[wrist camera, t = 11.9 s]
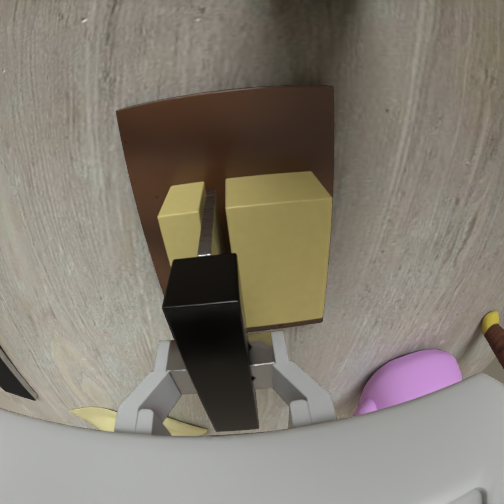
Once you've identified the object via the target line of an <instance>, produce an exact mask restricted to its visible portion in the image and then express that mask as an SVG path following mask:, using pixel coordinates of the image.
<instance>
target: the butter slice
mask: <svg viewBox="0 0 504 504" xmlns="http://www.w3.org/2000/svg"><path fill="white" fill-rule="evenodd" d="M205 197H206V189H205V183H204V182H196V183H188V184H181V185H174V186H171V187H170V189H169V192H168V194H167V196H166V198H165V201H164V203H163V205H162V207H161V210H160V212H159V214H158V217H157V218H158V222H159V226H160V230H161V233H162V237H163V241H164V245H165V248H166V252H167V256H168V259H169V263H170V266H171V265H172V261H173V260H174V259H180V258H190V257H197V253H198V245H199V238H200V231H201V224H202V217H203V210H204V204H205Z"/></svg>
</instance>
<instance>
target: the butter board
mask: <svg viewBox="0 0 504 504" xmlns="http://www.w3.org/2000/svg"><path fill="white" fill-rule="evenodd" d="M116 115H117V121H118V126H119V131H120V136H121V141H122V146H123V151H124V155H125V160H126V164H127V169H128V173H129V177H130V182H131V186H132V190H133V194H134V198H135V201H136V205H137V209H138V213H139V216H140V220H141V224H142V227H143V231H144V234H145V238H146V241H147V244H148V248H149V251H150V254H151V257H152V261H153V264H154V267H155V270H156V273H157V276H158V279H159V282H160V285H161V288H162V291H163V294H164V296H165V292H166V287H167V283H168V278H169V274H170V269H171V266H170V263H169V259H168V256H167V252H166V248H165V245H164V241H163V237H162V233H161V230H160V226H159V222H158V218H157V217H158V214H159V212H160V210H161V207H162V205H163V203H164V201H165V198H166V196H167V194H168V192H169V189H170V187H171V186H174V185H181V184H188V183H196V182H204V183H205V189H206V191H207V190H208V189H216V191H217V198H218V205H219V213H220V220H221V227H222V233H223V240H224V247H225V254H227V253H231V247H230V240H229V233H228V225H227V218H226V211H225V180H226V179H227V178H236V177H246V176H256V175H267V174H278V173H291V172H306V171H311V172H312V173H313V174H314V175H315V177H316V178H317V179H318V180H319V182H320V183H321V184H322V185H323V187H324V188H325V189H326V191H327V192H328V193H329V194H330V196H331V197H332V205H333V180H334V87H333V86H327V85H283V86H263V87H249V88H237V89H227V90H219V91H211V92H203V93H196V94H190V95H184V96H178V97H172V98H167V99H161V100H157V101H152V102H147V103H142V104H138V105H134V106H130V107H126V108H123V109H120V110H117V111H116ZM331 223H332V218H331ZM330 239H331V234H330ZM329 252H330V248H329ZM328 264H329V261H328ZM327 275H328V272H327ZM326 286H327V283H326ZM325 295H326V293H325ZM324 304H325V302H324ZM323 313H324V311H323ZM322 321H323V317H322V318H318V319H312V320H305V321H297V322H290V323H282V324H274V325H266V326H257V327H248V328H247V332H253V331H262V330H270V329H278V328H286V327H294V326H301V325H308V324H315V323H321V322H322Z"/></svg>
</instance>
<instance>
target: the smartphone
mask: <svg viewBox="0 0 504 504" xmlns="http://www.w3.org/2000/svg"><path fill="white" fill-rule="evenodd" d="M0 387H1V388H2V389H3V390H4V391H6V392H9V393H12V394H15V395H18V396H21V397H24V398H28V399H31V400H34V401H36V399H37V394H36V393H35V392H34V391H33V389H32V388H31V387H30V386H29V385H28V384H27V382H26V381H25V380H24V379H23V378H22V376H21V375H20V374H19V373H18V371H17V370H16V369H15V367H14V366H13V365H12V363H11V362H10V361H9V359H8V358H7V357H6V355H5V354H4V353H3V351H2V350H1V348H0Z"/></svg>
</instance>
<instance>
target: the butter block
mask: <svg viewBox="0 0 504 504" xmlns="http://www.w3.org/2000/svg"><path fill="white" fill-rule="evenodd" d="M225 211H226V218H227V225H228V233H229V240H230V247H231V253H236V254H237V257H238V265H239V273H240V280H241V288H242V296H243V303H244V311H245V318H246V326H247V328H248V327H257V326H266V325H274V324H282V323H290V322H297V321H305V320H312V319H318V318H322V317H323V311H324V302H325V293H326V283H327V272H328V261H329V248H330V234H331V218H332V197H331V196H330V194H329V193H328V192H327V191H326V189H325V188H324V187H323V185H322V184H321V183H320V182H319V180H318V179H317V178H316V177H315V175H314V174H313V173H312V172H311V171H306V172H291V173H278V174H267V175H256V176H246V177H236V178H227V179H226V180H225Z"/></svg>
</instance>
